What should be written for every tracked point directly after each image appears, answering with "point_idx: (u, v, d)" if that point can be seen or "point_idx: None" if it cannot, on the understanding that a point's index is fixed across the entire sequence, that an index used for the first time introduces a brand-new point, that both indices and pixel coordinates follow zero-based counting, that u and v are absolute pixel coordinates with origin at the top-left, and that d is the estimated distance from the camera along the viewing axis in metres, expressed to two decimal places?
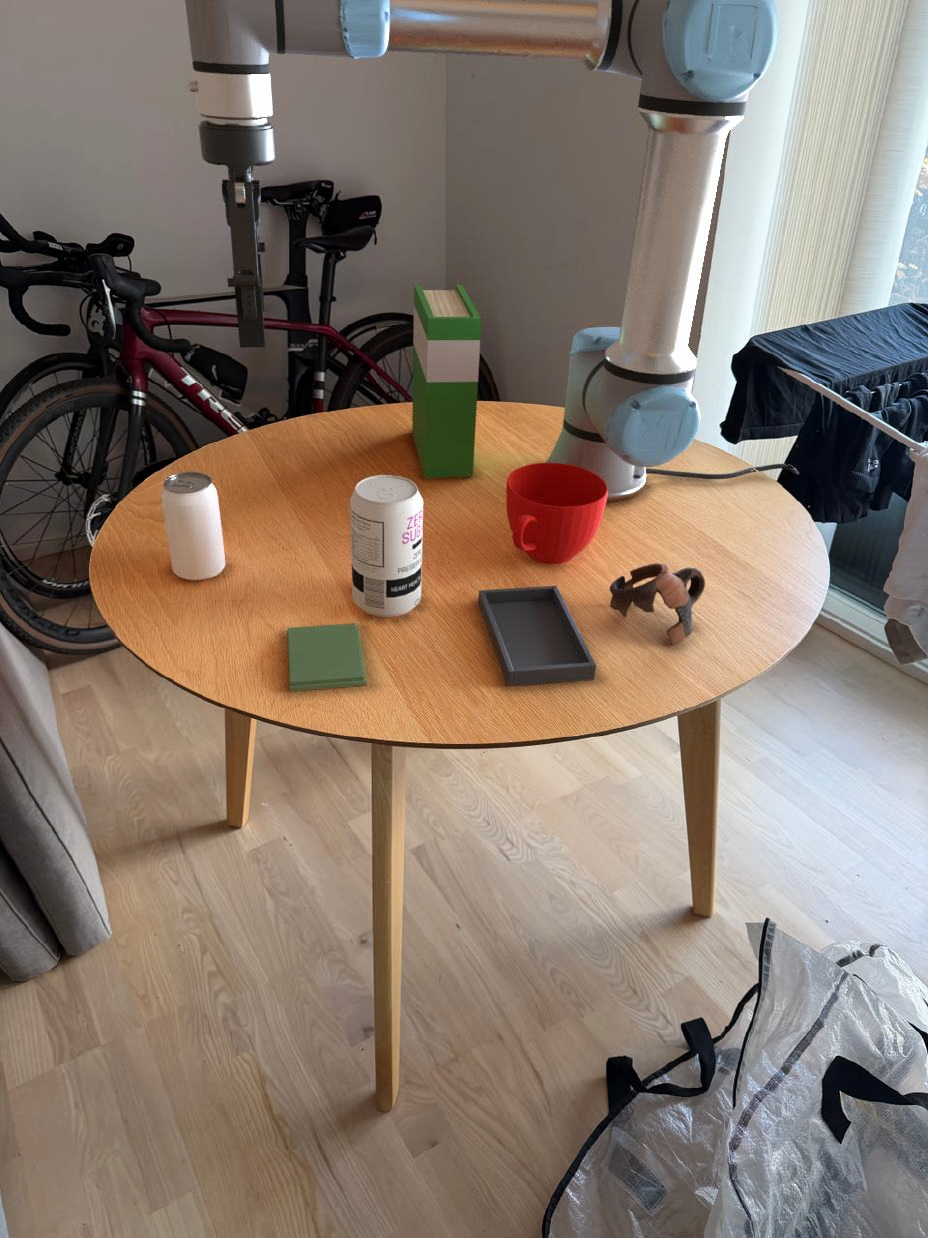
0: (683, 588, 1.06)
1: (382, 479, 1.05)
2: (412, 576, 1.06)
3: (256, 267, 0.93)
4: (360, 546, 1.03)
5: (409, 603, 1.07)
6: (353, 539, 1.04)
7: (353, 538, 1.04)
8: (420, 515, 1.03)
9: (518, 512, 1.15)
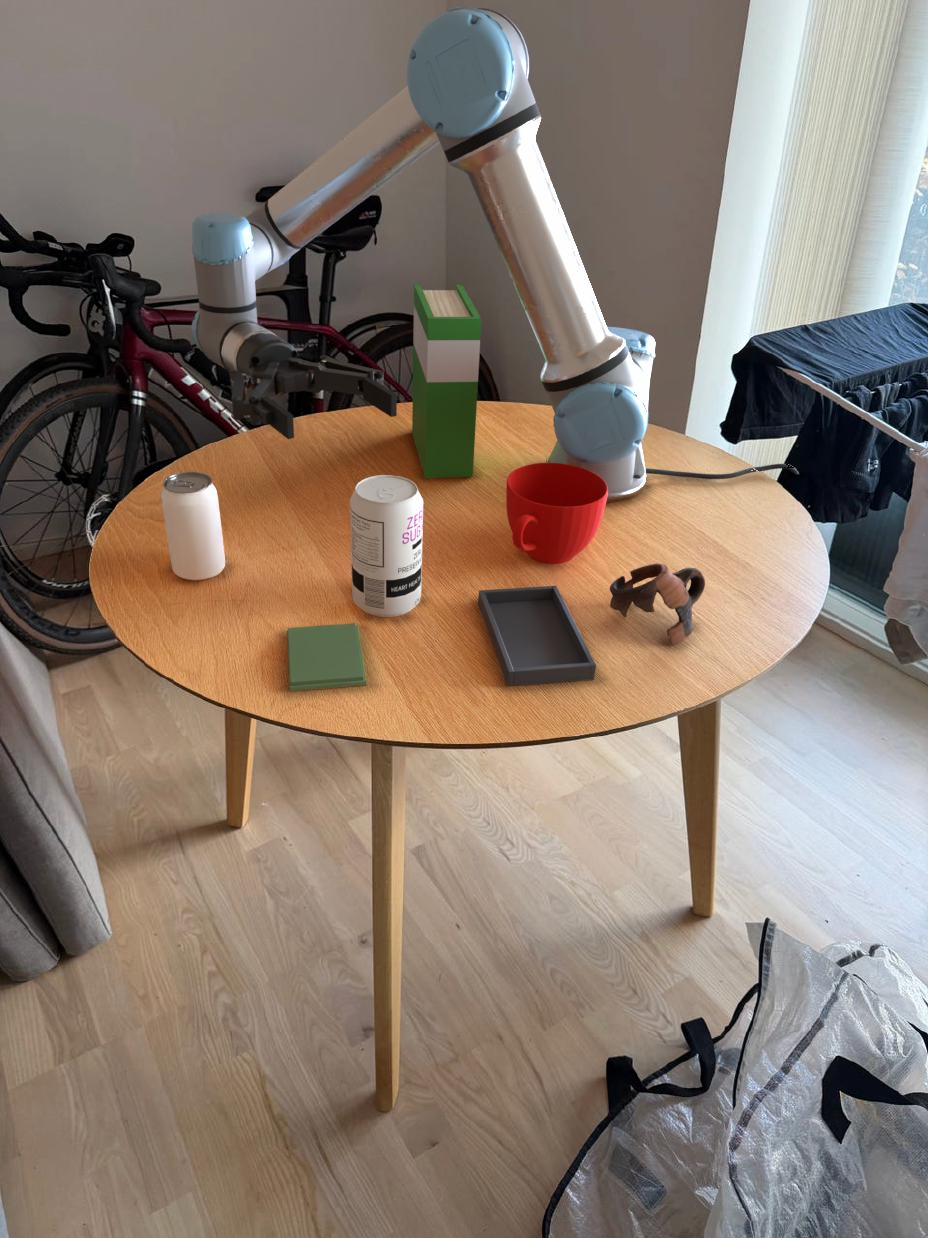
0: (683, 588, 1.05)
1: (382, 479, 1.05)
2: (412, 576, 1.06)
3: (232, 395, 1.06)
4: (360, 546, 1.03)
5: (409, 603, 1.07)
6: (353, 539, 1.04)
7: (353, 538, 1.04)
8: (420, 515, 1.03)
9: (518, 512, 1.15)
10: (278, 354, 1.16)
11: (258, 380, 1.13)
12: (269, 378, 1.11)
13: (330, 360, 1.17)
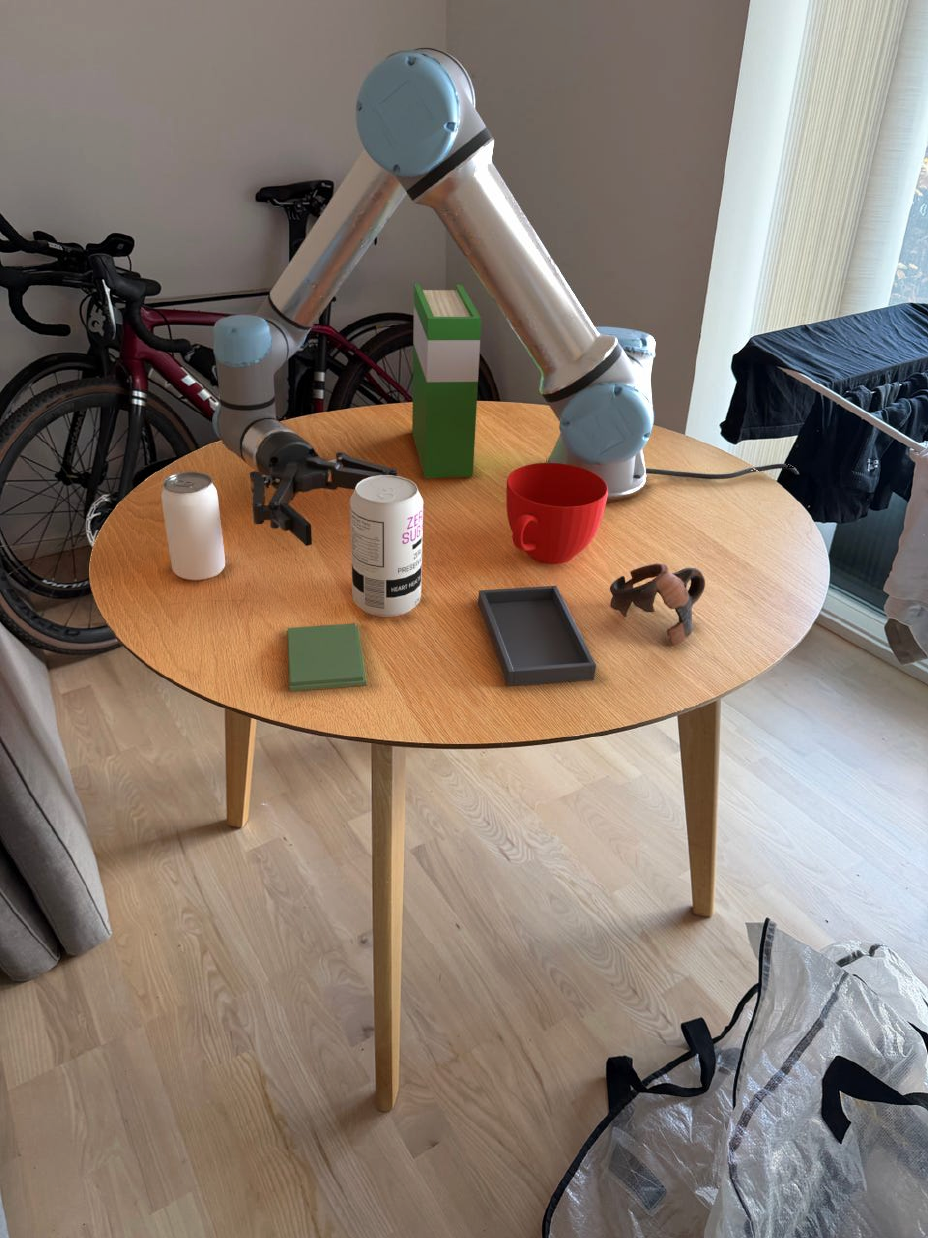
0: (683, 588, 1.05)
1: (382, 479, 1.05)
2: (412, 576, 1.06)
3: None
4: (360, 546, 1.03)
5: (409, 603, 1.07)
6: (353, 539, 1.04)
7: (353, 538, 1.04)
8: (420, 515, 1.03)
9: (518, 512, 1.15)
10: (296, 453, 1.21)
11: (277, 480, 1.18)
12: (288, 480, 1.15)
13: (346, 457, 1.22)
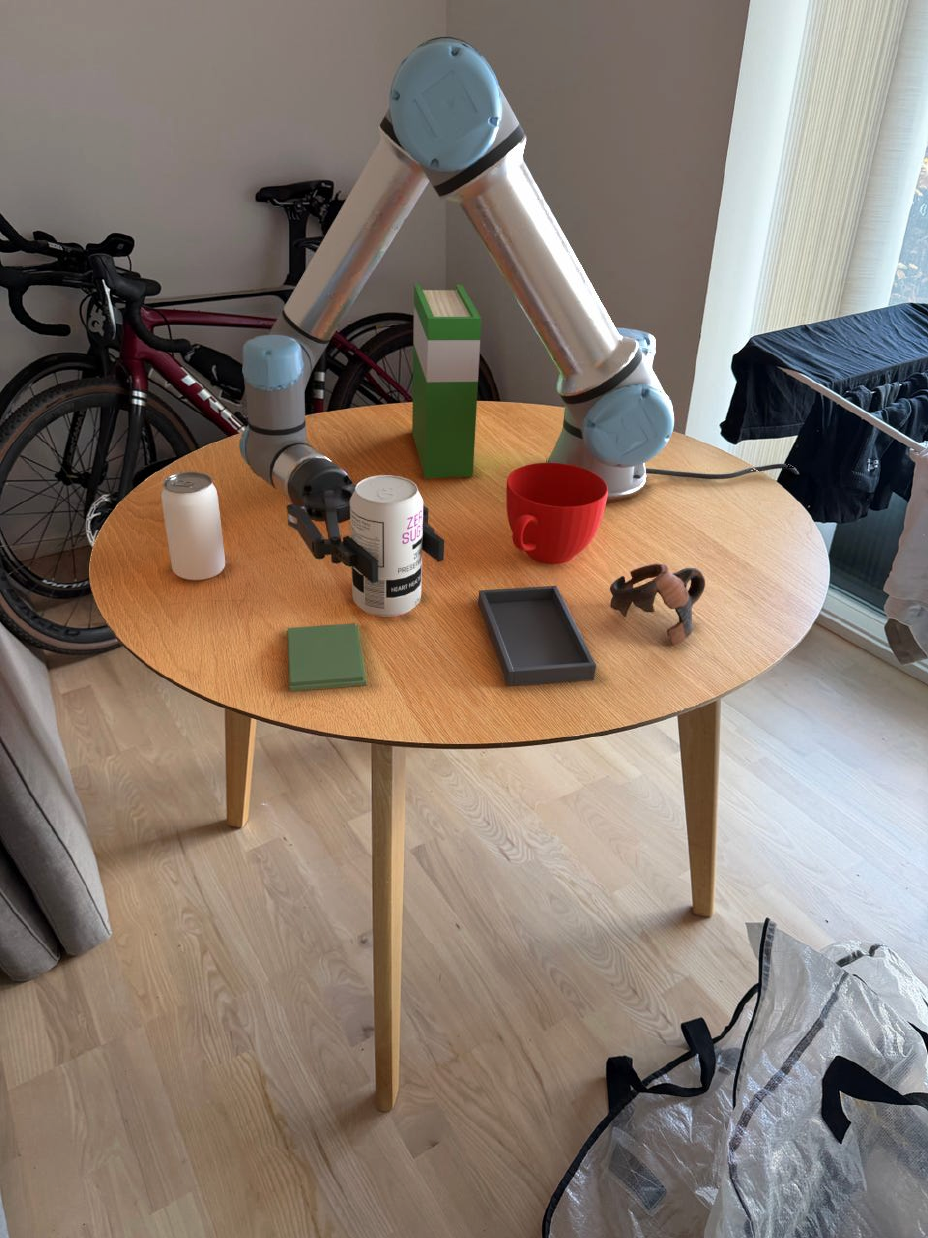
0: (683, 588, 1.05)
1: (382, 479, 1.04)
2: (412, 576, 1.06)
3: (311, 536, 1.04)
4: None
5: (409, 603, 1.07)
6: (353, 539, 1.04)
7: (353, 538, 1.04)
8: (420, 515, 1.03)
9: (518, 512, 1.15)
10: (331, 481, 1.15)
11: (313, 510, 1.12)
12: (333, 511, 1.09)
13: None
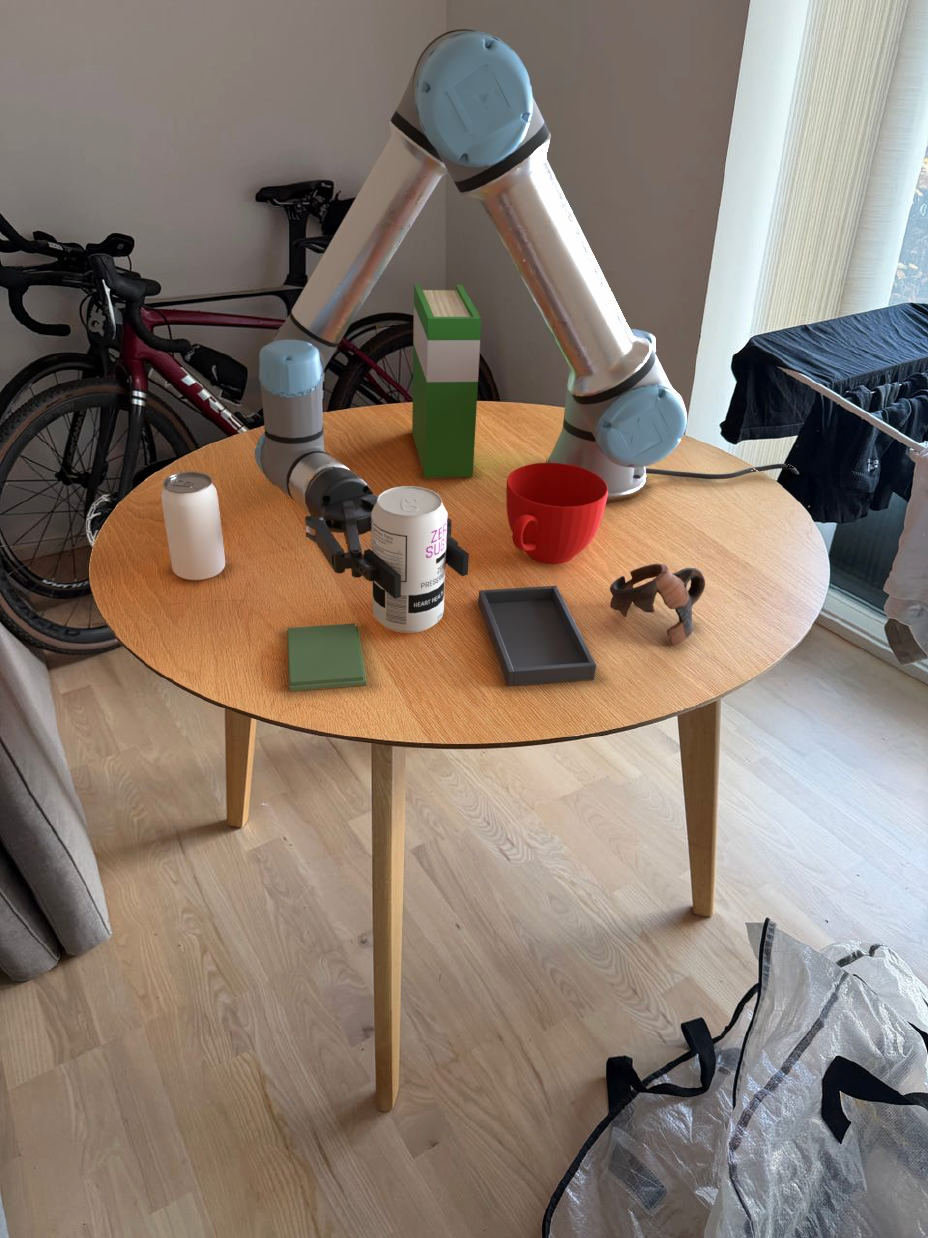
0: (683, 588, 1.05)
1: (405, 490, 1.01)
2: (436, 591, 1.02)
3: (331, 549, 1.01)
4: None
5: (431, 618, 1.04)
6: None
7: (374, 552, 1.00)
8: (444, 528, 0.99)
9: (518, 512, 1.15)
10: (350, 491, 1.11)
11: (332, 521, 1.08)
12: (353, 522, 1.06)
13: None
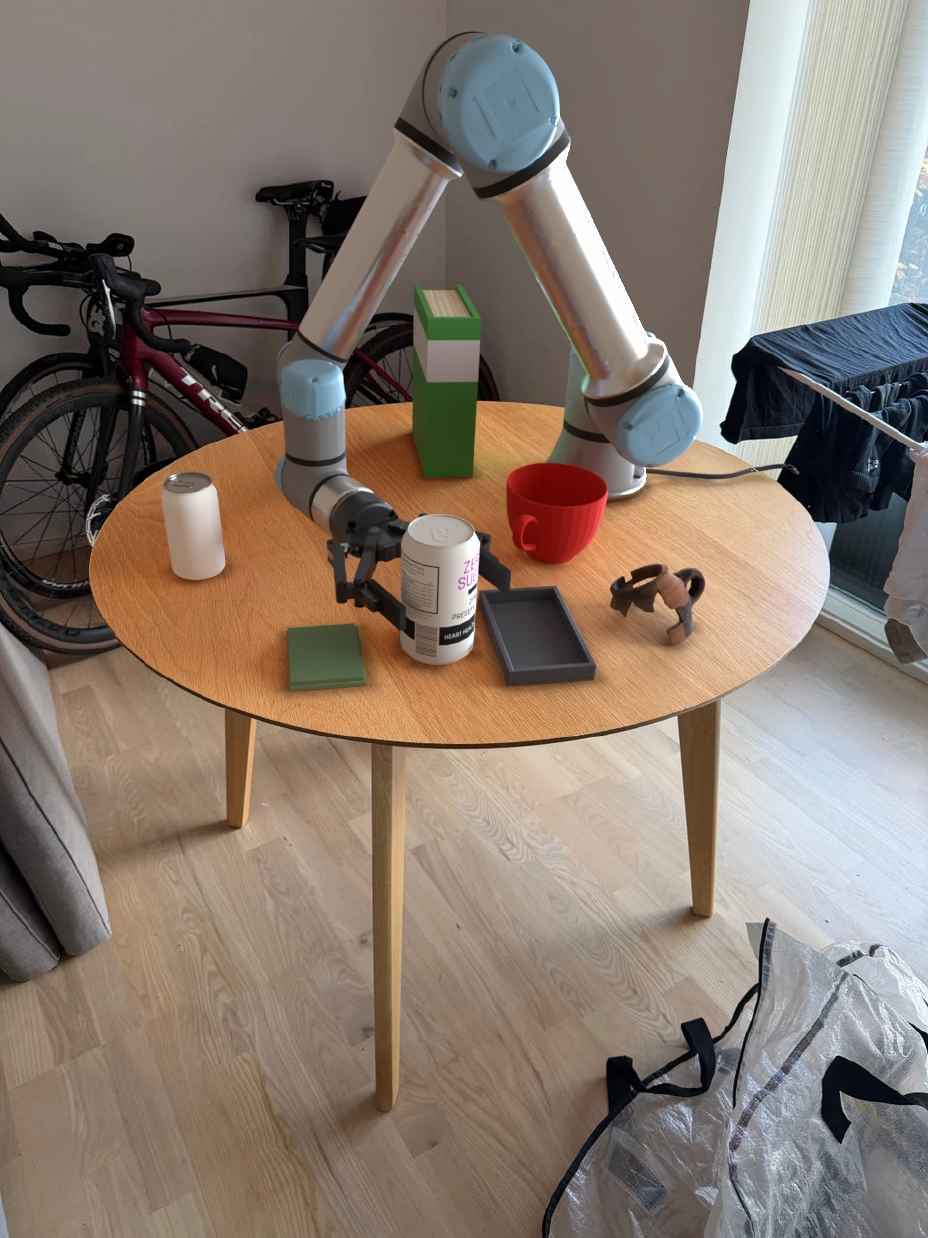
0: (683, 588, 1.05)
1: (435, 519, 0.97)
2: (467, 623, 0.98)
3: (335, 578, 0.97)
4: (412, 591, 0.96)
5: (462, 650, 1.00)
6: (404, 583, 0.96)
7: (404, 582, 0.96)
8: (477, 558, 0.95)
9: (518, 512, 1.15)
10: (376, 516, 1.07)
11: (356, 548, 1.05)
12: (371, 550, 1.02)
13: None
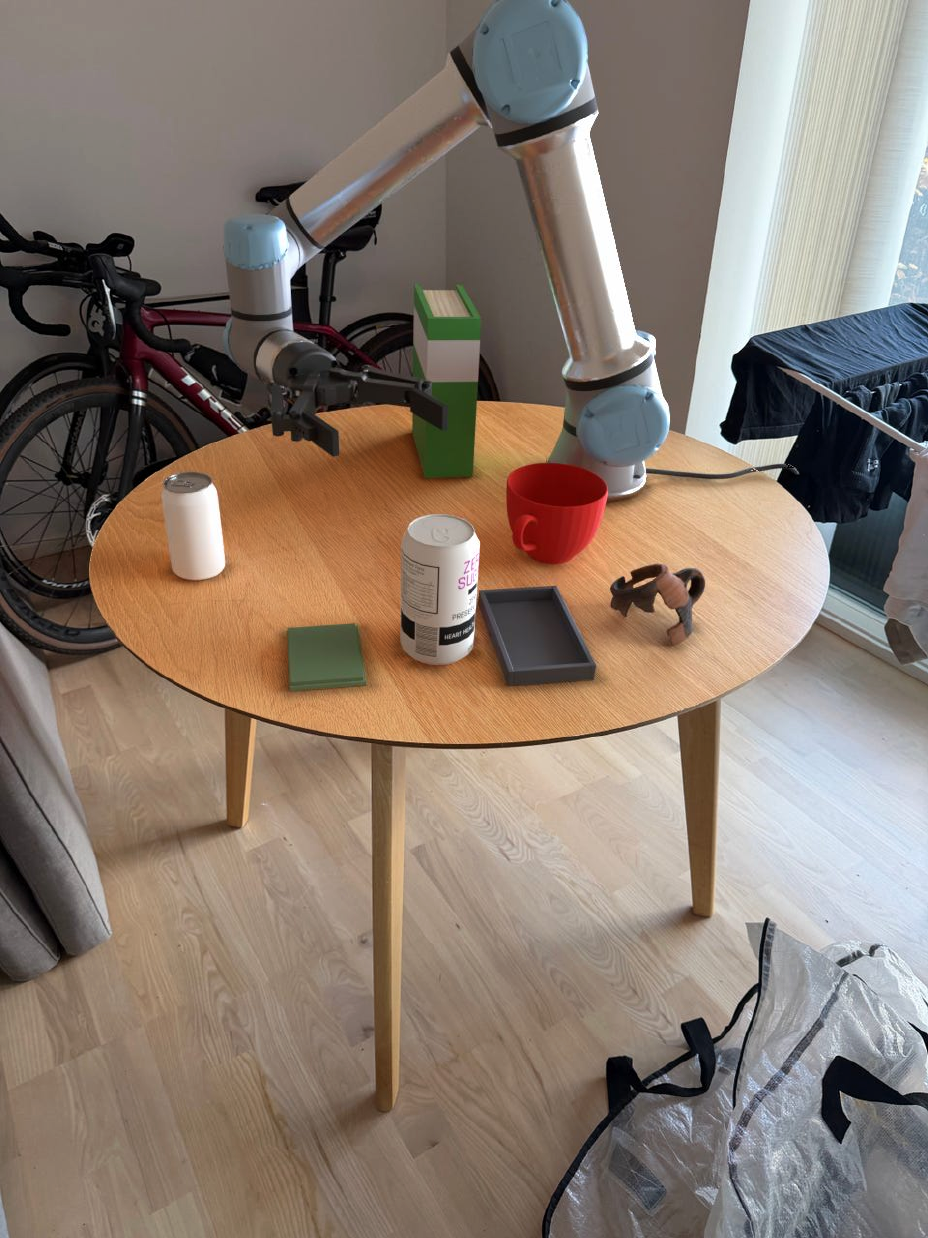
0: (683, 588, 1.05)
1: (435, 519, 0.97)
2: (467, 623, 0.98)
3: (271, 410, 0.98)
4: (412, 591, 0.96)
5: (462, 650, 1.00)
6: (404, 583, 0.96)
7: (404, 582, 0.96)
8: (477, 558, 0.95)
9: (518, 512, 1.15)
10: (317, 364, 1.08)
11: (297, 392, 1.05)
12: (309, 390, 1.03)
13: (373, 370, 1.09)
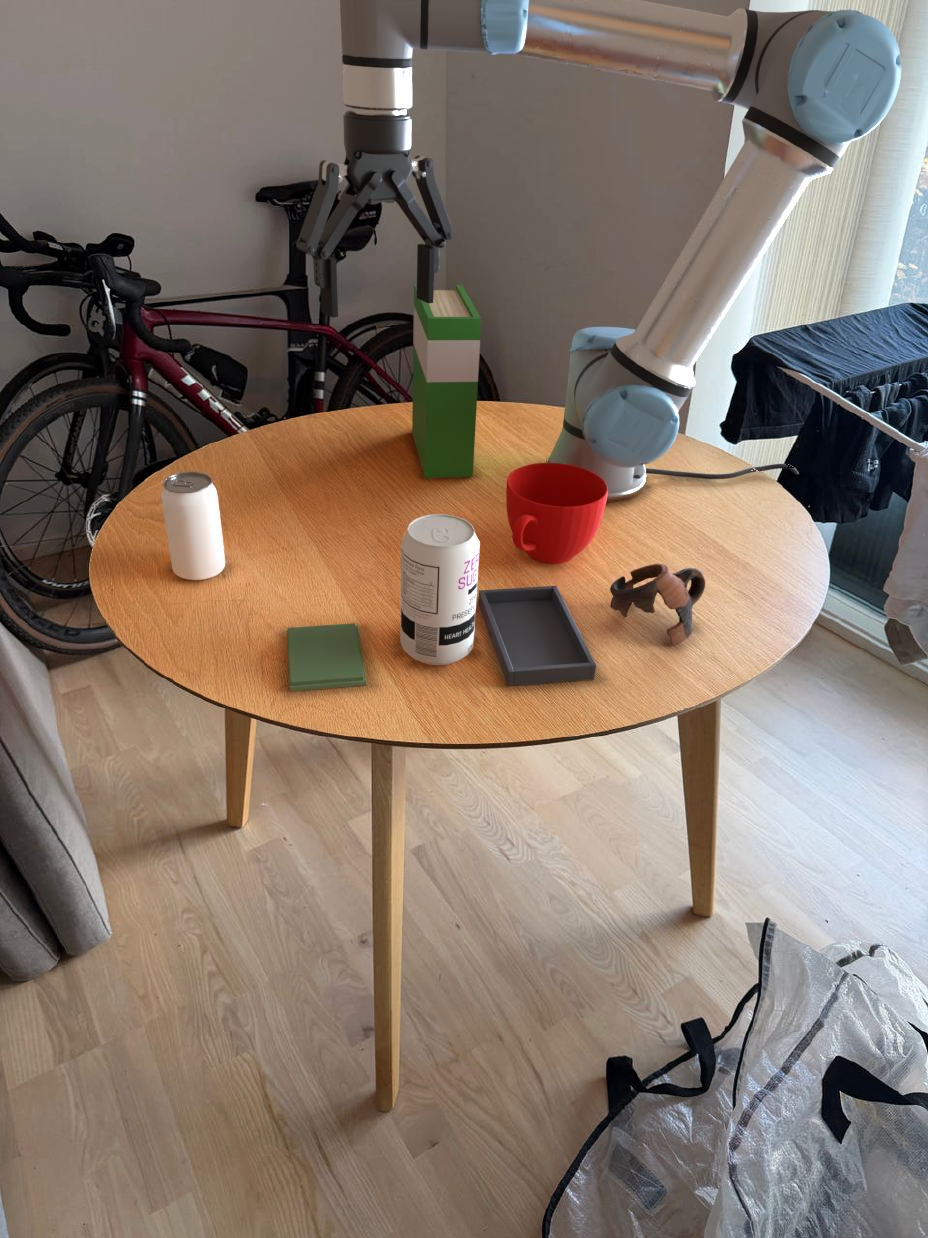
0: (683, 588, 1.05)
1: (435, 519, 0.97)
2: (467, 623, 0.98)
3: (309, 238, 1.02)
4: (412, 591, 0.96)
5: (462, 650, 1.00)
6: (404, 583, 0.96)
7: (404, 582, 0.96)
8: (477, 558, 0.95)
9: (518, 512, 1.15)
10: None
11: None
12: (357, 208, 1.03)
13: (429, 177, 1.07)
